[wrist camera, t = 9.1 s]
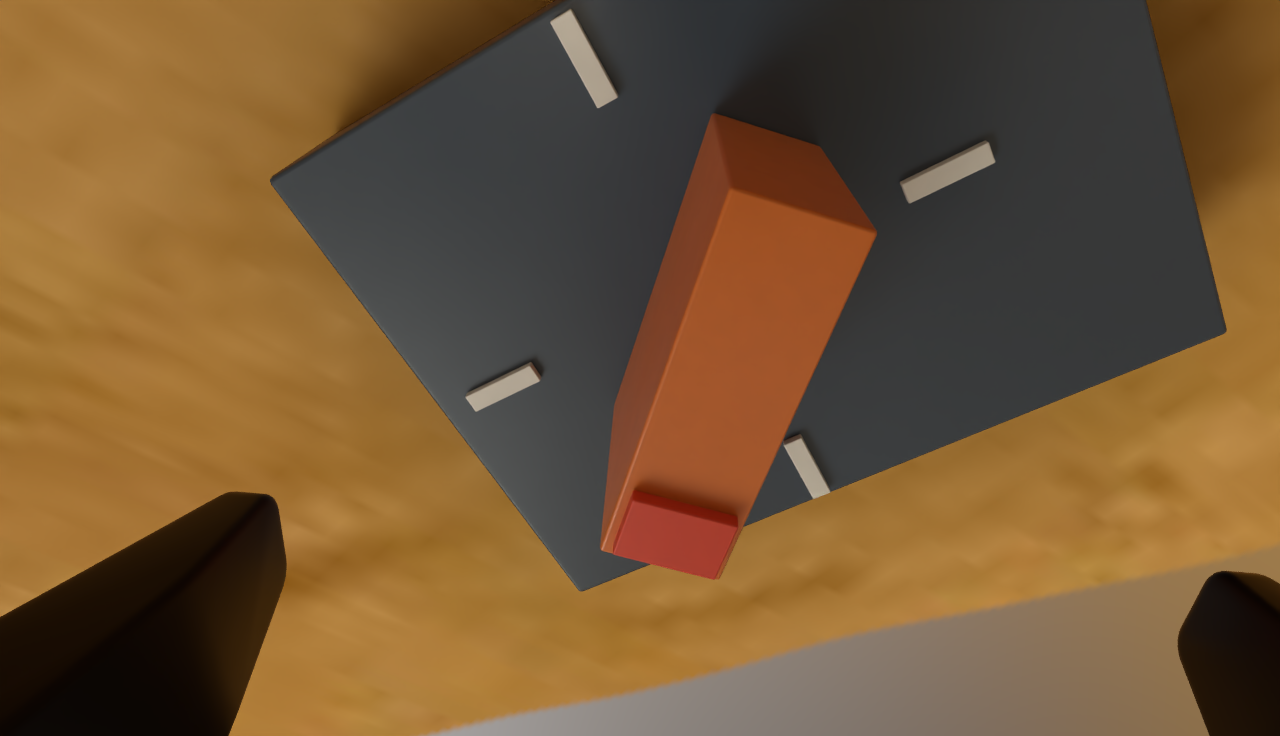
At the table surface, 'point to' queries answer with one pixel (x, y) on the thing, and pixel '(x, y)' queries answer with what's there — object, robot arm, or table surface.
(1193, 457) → the table surface
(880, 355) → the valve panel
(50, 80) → the table surface
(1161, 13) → the table surface
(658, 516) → the orange block
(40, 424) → the table surface
